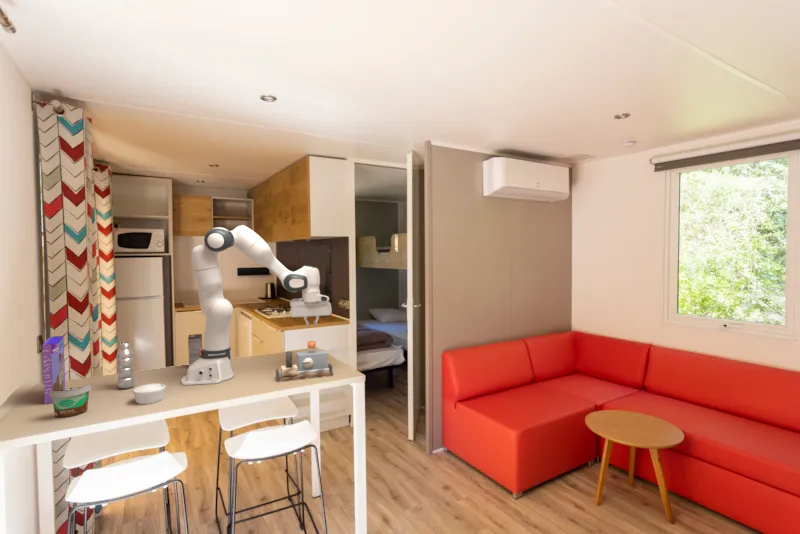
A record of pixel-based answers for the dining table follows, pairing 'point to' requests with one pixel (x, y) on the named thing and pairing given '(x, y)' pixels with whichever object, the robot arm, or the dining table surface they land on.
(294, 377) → the rail
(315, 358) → the gauge cabinet
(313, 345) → the button
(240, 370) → the dining table surface
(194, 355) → the coffee box
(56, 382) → the cereal box
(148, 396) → the ramekin
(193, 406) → the dining table surface
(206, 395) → the dining table surface
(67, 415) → the food container
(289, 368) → the carriage
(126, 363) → the plastic bottle
